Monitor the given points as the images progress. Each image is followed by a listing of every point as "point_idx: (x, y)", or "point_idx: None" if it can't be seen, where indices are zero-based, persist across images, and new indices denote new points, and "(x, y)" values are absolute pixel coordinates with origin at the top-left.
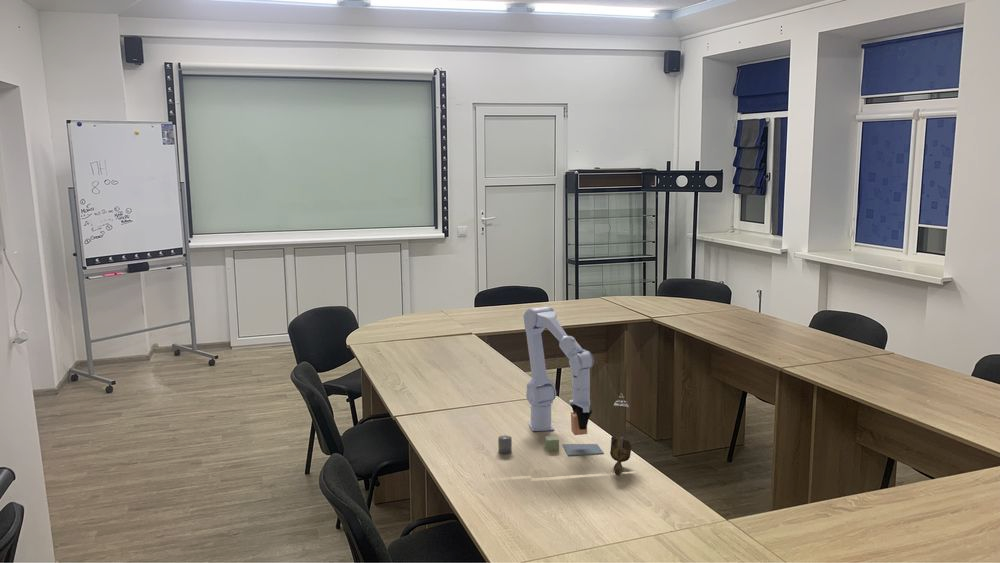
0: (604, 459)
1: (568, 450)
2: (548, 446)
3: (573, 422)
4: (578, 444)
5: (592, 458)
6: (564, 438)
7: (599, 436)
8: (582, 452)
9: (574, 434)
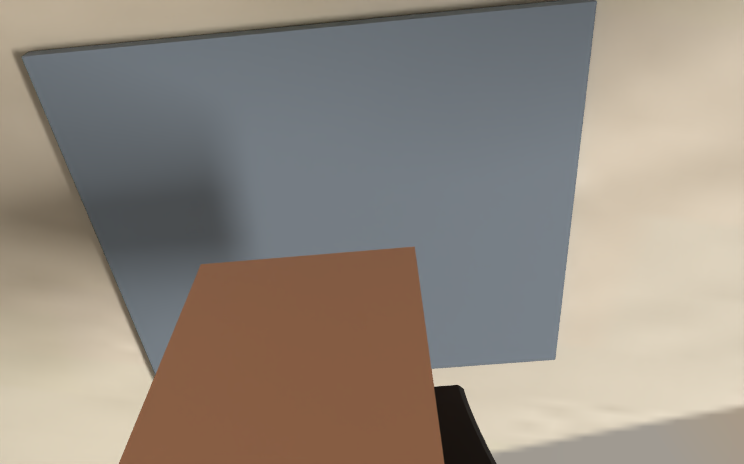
0: (30, 368)
1: (186, 80)
2: None
3: (189, 424)
4: (392, 217)
5: (28, 287)
6: (670, 84)
7: (606, 402)
8: (139, 226)
9: (199, 271)
